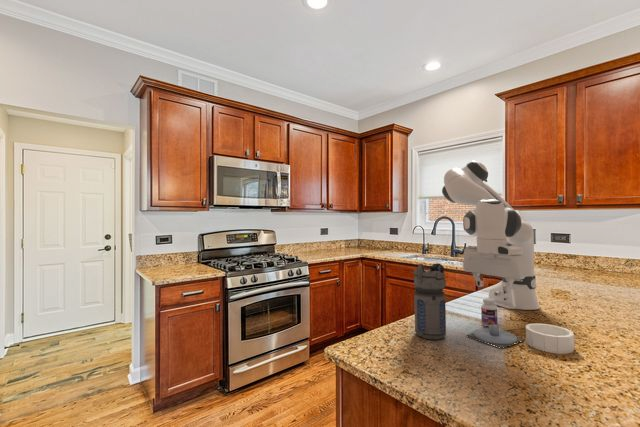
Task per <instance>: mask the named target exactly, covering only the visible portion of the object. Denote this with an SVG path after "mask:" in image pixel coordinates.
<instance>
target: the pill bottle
mask: <svg viewBox="0 0 640 427" xmlns="http://www.w3.org/2000/svg"><path fill="white" fill-rule="evenodd" d="M480 306H481V307H480V309H481V313H480V314H481V325H482V326H483V325H484V326H483V327H486V326H488V327H487V328H490V324H495V325H498V326H499V320H498V319H499V315H498V314H499V313H498V305H495V300H494V299H491V298H485V297H483V300H482V304H481V305H480Z"/></svg>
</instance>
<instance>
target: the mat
mask: <svg viewBox="0 0 640 427" xmlns="http://www.w3.org/2000/svg"><path fill="white" fill-rule="evenodd" d="M467 336H468V337H467ZM466 337H467V338H470V337H471V338H470V339H472V338H474V339H473V340H475V339H477V340H476V341H478V340H479V339H478V338H476V337H475V336H474V332H471V333H468V334H466ZM481 341H482V340H480V341H479V342H481ZM520 341H523V342H524V341H525V339H523V338H521V337H517V342H520ZM483 342H485V341H483ZM483 342H482V343H483ZM517 342H516V343H517ZM486 343H488V342H486ZM486 343H485V344H486ZM520 343H521V342H520ZM489 344H492V345H495V346H497V347H500V348H503V347H506V346H509V345H512V344H508V345H502V344H493V343H489ZM489 344H488V345H489ZM492 345H491V346H492ZM512 346H513V345H512ZM497 347H496V348H497ZM509 347H510V346H509ZM500 348H499V349H500ZM506 348H507V347H506ZM503 349H504V348H503Z"/></svg>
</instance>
